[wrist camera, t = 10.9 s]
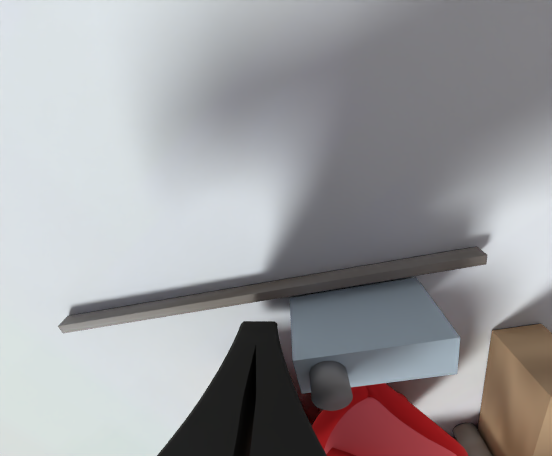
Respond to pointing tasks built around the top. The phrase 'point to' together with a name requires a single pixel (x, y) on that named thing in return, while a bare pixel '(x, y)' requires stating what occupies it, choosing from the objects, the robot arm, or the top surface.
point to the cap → (382, 427)
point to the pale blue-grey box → (368, 339)
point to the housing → (504, 342)
